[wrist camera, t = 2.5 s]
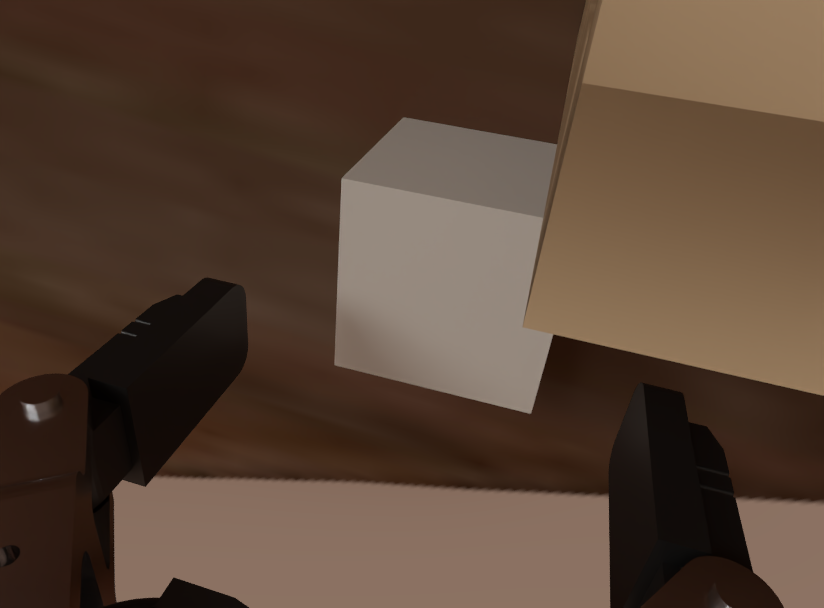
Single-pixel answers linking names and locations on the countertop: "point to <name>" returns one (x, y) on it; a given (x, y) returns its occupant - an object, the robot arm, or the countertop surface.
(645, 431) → the robot arm
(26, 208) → the countertop surface
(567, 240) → the frame
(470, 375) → the white cube
